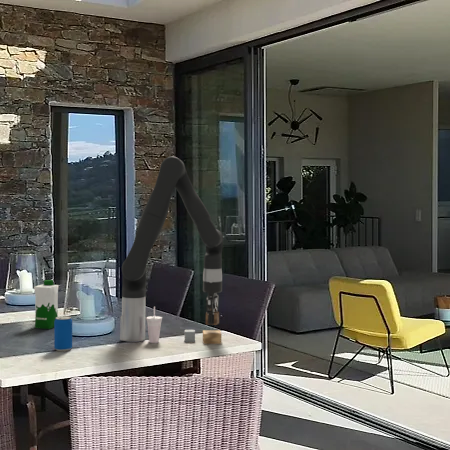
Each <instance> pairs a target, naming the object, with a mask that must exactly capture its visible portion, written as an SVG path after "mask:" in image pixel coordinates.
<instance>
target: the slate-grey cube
mask: <svg viewBox="0 0 450 450" xmlns="http://www.w3.org/2000/svg"><path fill="white" fill-rule="evenodd" d="M184 342H187V343H190V342H192V343H193V342H194V343H196V330H195V329H184Z"/></svg>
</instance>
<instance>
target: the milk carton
mask: <svg viewBox="0 0 450 450" xmlns="http://www.w3.org/2000/svg"><path fill="white" fill-rule="evenodd" d="M33 288H34V295H35V301H34V302H35V303H34V304H35V308H34V310H35V317H34V318H35V320H34V323H35V324H34V329H42V330H44V329H45V330H47V329H48V330H52V329H54V321H55V319H56V317H59V316H58V315H59V314H58V311H59V307H58V295H59V284H54V280H53V279H45V280H43V284H38V285H36V286H34V287H33Z"/></svg>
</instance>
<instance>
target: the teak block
mask: <svg viewBox="0 0 450 450" xmlns="http://www.w3.org/2000/svg"><path fill="white" fill-rule="evenodd" d="M222 336H223V335H222V331H221V330H220V329H219V330H213V329H211V330H210V329H209V330H208V329H207V330H202V343H203V344H204V345H205V344H206V345H208V344H209V345H210V344H211V345H213V344H215V345H217V344H221V345H222Z"/></svg>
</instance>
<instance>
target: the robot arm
mask: <svg viewBox="0 0 450 450" xmlns="http://www.w3.org/2000/svg"><path fill="white" fill-rule="evenodd" d="M159 167H160V168H159V171H158V175H157V179H156V181H155V185H154V187H153V189H152V192H151V194H150V197H149V198H148V200H147V203H146V205H145V207H144V209H143V212H142V214H141V216H140V219H139V222H138V225H137V229H136V232H135V233H136V234H135V236H134V241H133V243H132V246H131V248H130V250H129V252H128V254H127V256H126V257H125V260H124V261H123V263H122V264H121V265H122V266H121V272H122V288H121V297H122V298H121V316H119V319H120V320H119V333H120V334H119V341H123V342H127V343H130V342H131V343H132V342H133V343H135V342H143V341H145V340H146V292H147V291H146V290H147V289H146V288H147V264H148V260H149V256H150V253H151V250H152V248H153V246H154V245H155V243H156V241H157V240H158V238H159V236H160V234H161V233H162V229H163V227H164V224H165V222H166V219H167V216H168V215H169V214H168V213H169V208H170V203H171V197H172V194H173V191H174V190H175V189H176V191H177V192H178V194H179V196H180V198H181V200H182V202H183V205H184V207H185V210H186V211H187V213H188V215H189V217H190V218H191V221H192V223H193V224H194V225H195V226H196V227H195V228H196V229H197V232H198V235H199V237H200V239H201V241H202V243H203V244H204V245H205V254H204V256H203V272H202V282H203V283H202V291H203V293H207V296H206V300H205V302H206V304H205V306H206V307H205V308H206V312H207V314H208V324H214V311H218V310H219V297H220V296H219V294H218V293H221V292H223V270H222V265H223V264H222V261H223V260H222V254H223V246H224V235H223V233H222V231H220V230H219V229H217V228H216V227H215V225H214V224H213V222H212V217H211V215H210V213H209V211H208V209H207V208H206V206H205V204H204V203H203V201H202V199H201V198H200V196H199V195H198V193H197V192H196V190H195V188H194V186H193V184H192V181H191V180H190V176H189V175H188V172H187V169H186V165H185V163H184V161H183V160H181V159H180V158H178V157H176V156H168V157H166V158H165V159H163V160H162V162H161V164H160V166H159Z"/></svg>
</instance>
